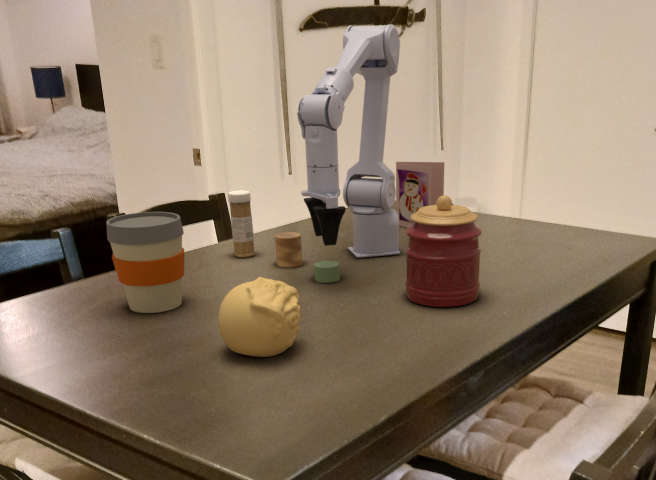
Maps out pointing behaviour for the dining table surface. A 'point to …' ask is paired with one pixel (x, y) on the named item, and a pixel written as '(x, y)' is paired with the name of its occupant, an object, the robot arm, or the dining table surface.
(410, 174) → the greeting card
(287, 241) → the pile middle chip
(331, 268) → the green short cylinder
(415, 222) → the kitchen canister
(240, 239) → the sprinkles bottle
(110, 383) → the dining table surface
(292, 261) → the pile bottom chip
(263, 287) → the sculpture
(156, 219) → the reusable coffee cup
